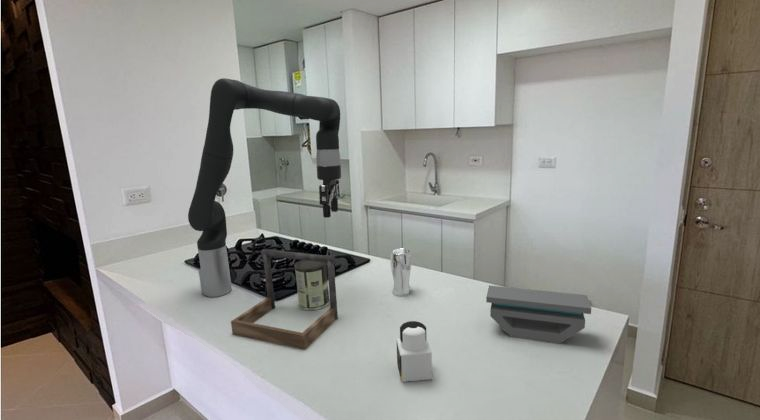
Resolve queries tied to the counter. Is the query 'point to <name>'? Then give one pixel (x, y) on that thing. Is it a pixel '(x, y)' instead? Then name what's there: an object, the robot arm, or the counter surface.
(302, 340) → the frame
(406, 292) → the beer glass
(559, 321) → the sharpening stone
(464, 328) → the counter surface
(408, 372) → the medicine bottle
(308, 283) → the coffee can
